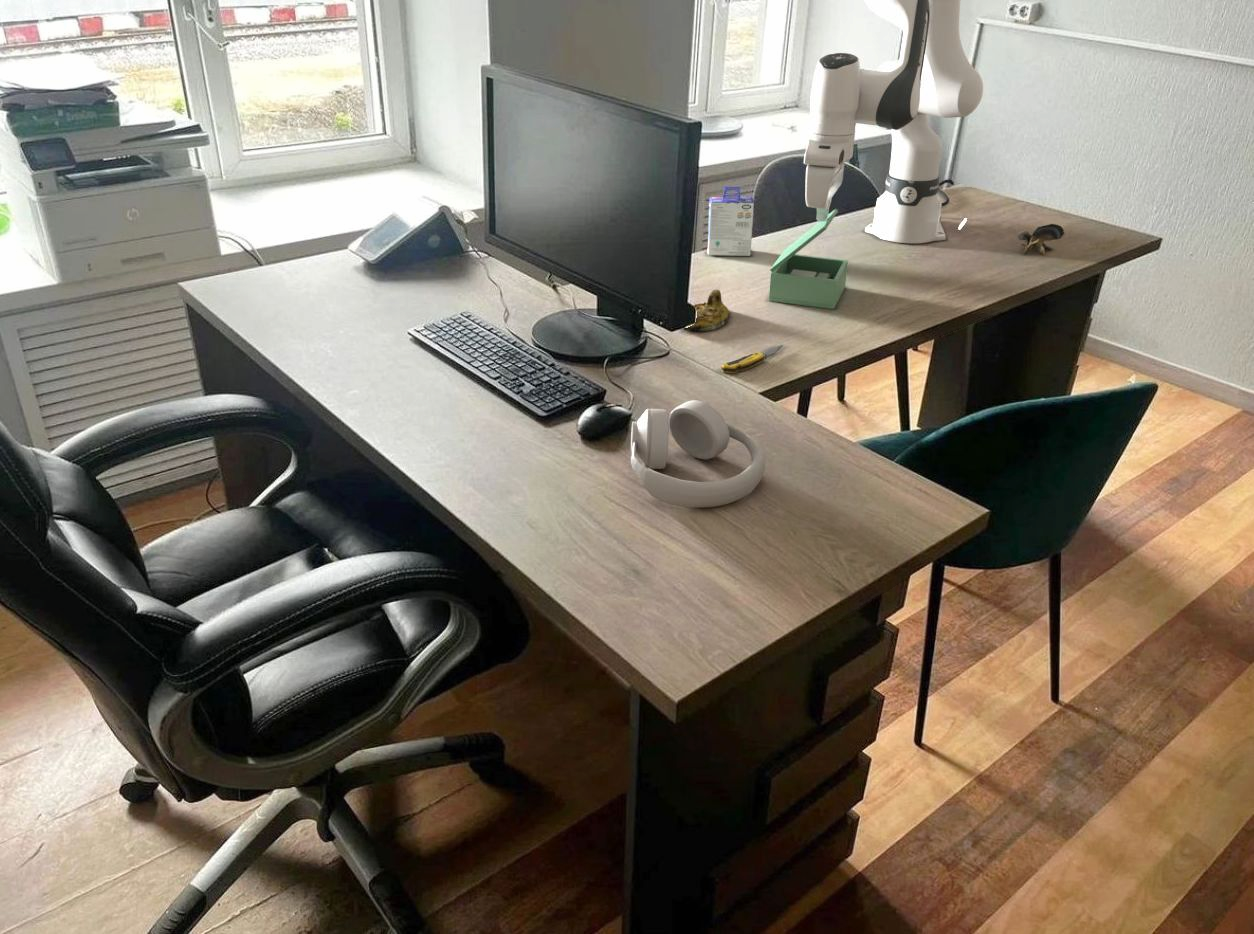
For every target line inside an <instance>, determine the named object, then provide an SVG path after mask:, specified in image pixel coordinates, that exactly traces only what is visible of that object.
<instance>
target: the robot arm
mask: <svg viewBox="0 0 1254 934" xmlns="http://www.w3.org/2000/svg"><path fill="white" fill-rule="evenodd" d="M863 1H864V3H865V5H866V6H867V7H868V8H869V9H870V11H872V13H874V14H875V15H876V16H878V17H879V18H881V19H883V20H885V21H887V22H889V23H891V24H893V25H894V26H896V27H898V28H899V29H901V30H902V33H903V34H902V39H901V46H900V53H899V58H898V59H897V58H896V59H890V60H889V59H888V60H886V61H884V62H883V63H882V64H880V66H879V67H878V68H877V70H870V69H864V68H861V66H860V65H861V64H860V58H859V57H857V55H854V54H852V53H847V52H836V53H830V54H826V55H824V56H822V57H821V58H819V60H818V61H817V62H816V63H817V64H816V67H815V70H814V74H813V79H812V85H811V91H810V98H809V100H810V101H809V110H810V120H809V124H808V126H807V132H806V143H805V152H804V156H803V164H804V165H806V169H805V205H806V207H807V208H812V209H813V208H814V209H816V216H815V217H816V219H815V220H816V221H817V222H820V221H825V220H826V218H827V217H828V214H830V213H829V212H830V206H831V202H832V198H833V197H834V195H835V194H836V192H837V191H838V190H839V188H840V187H841V186H842V183H843V180H844V171H845V170H844V169H845V166H846V161H848V160H851V159H852V158H853V154H854V145H855V136H856V125H855V124H862V125H870V126H878V127H880V128H883V129H884V128H885V129H888V130H890V133H891V154H890V164H889V172H888V173H887V175H886V179H885V187H884V189H885V190H884V192H883V194H881V195H880V196H879V197H877V199H876V204H875V207H874V211H873V213H874V215H873V216H874V217H873V221H872V222H871V223H869V224H868V225H866V226H865V228H864V232H865V233H868V234H870V235H873V236H875V237H877V238H879V239H881V240H884V241H888V242H891V243H892V242H893V243H899V244H926V243H930V242H935V241H937V242H938V241H945V240H946V237H947V236H946V233H945V231H944V228H943V226H942V224H941V221H942V217H941V211H942V207H945V206H946V205H948V204H949V203H950V197H949V196H948V195H947V194H946V192H945V191H943V190H942V189H940V187H941V186H943V185H945V184H947V183H948V184H950V185H951V186H955V182H954V181H953V180H952V179H944V180H942V181H940V177H939V173H940V166H941V159H942V153H943V142H942V140H941V139H942V138H941V137H940V136H939V135H938V134H937V133H936V132H935V131H934V130H933V129H932V128H931V126H930V124H929V122H928V117H927V116H933V117H938V118H943V119H944V118H945V119H948V118H951V119H952V118H953V119H954V118H964V117H968V116H970V115H971V114H972V113H973V112H974V111H975V110H976V109H977V108H978V107H979V105H980V103H981V101H982V98H983V94H984V83H983V79H982V76H981V75H980V73H979V72H978V71H977V70H976V69H975V68H974V67H973V65H972V64H971V63H970V61H969V60H968V57H967V56H966V54H965V51H964V48H963V44H962V41H961V37H960V13H961V12H960V11H961V0H863ZM938 193H939V194H940V195H941V196H942V198H944V202H941V201H940V200H939V198H938V197H937V194H938ZM967 219H968V218H966V217H965V218H964V219H963V221H962V222H961V223H959V226H958V230H961V229H962V228H963V226H964V225H965V224H966V222H967Z"/></svg>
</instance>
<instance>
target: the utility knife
mask: <svg viewBox="0 0 1254 934" xmlns="http://www.w3.org/2000/svg"><path fill="white" fill-rule="evenodd" d="M782 347H784V344H778V345H773V346H770V347H767V348H766V349H763V350H760V351H755V352H752V353H750V354H749V355H745V356H742V357H740V358H738V359H735V360H732V361H728V362H726V363H723V364H722V365H721V372H722V373H725V374H736V373H737V372H742V371H746V370H749V369H752V368H753V367H754V366H757V365H760V364H761V363H763V362H764V361H765V360H767V359H768V358H769V357H771V356H774V355H775V354H777V352H778V351H779V350H780V349H781V348H782Z"/></svg>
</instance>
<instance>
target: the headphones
mask: <svg viewBox="0 0 1254 934" xmlns="http://www.w3.org/2000/svg"><path fill="white" fill-rule="evenodd" d="M669 432H670V433H669ZM669 434H671V436H672V438H673V440H674V442H675V443H676V444H677V446H679V448H681V449H682V451H684V452H686V453H687V454H688V455H690V456H692V457H694V458H696V459H701V460H710V459H714V458H715V457H717V456H718V455H720V454H722V453H723V452H724V451H725V450H726V449H727V448H728V445H729V443H730V438H731V439H733V440H735V441H738V442H739V443H741V444H742V445H744V447H746V448H745V449H747V451H748V452H749V454H750V457H751V462H750V464H749V466H748V467H747V468H746V469H744V470H743V471H742V472H741V473H738V474H736V475H733V476H732V477H729V478H726V479H722V480H717V481H716V480H715V481H696V480H695V481H693V480H685V479H679V478H677V477H673V476H670V475H667V474H663V473H661V472H658V471H655V470H654V469H656V470H663V469H665V468H666V466H667V464H668V463H667V462H668V453H669V438H670V437H669ZM630 453H631V457H630V465H631V468H632V470H633V472H634V473H635V475H636V477H638V478H639V481H640V482H641V483H642V484H643V488H644V490H646V491H647V493H648V494H649V495H650V496H651V497H653V498H654V499H656V500H657V501H659V502H662V503H665V504H667V505H672V506H678V507H682V508H686V509H695V508H697V509H698V508H714V507H720V506H724V505H728V504H732V503H734V502H737V501H739V500H740V499H742V498H744V497H746V496H748V495H750V494H751V493H752V492H753V490H755V488H756V487H757V486H758V485H759V484H760V482H761V480H762V478H763V475H764V473H765V470H766V455H765V452H764V451H763V449H762V447H761V445H760V444H758V443H757V442H756V441H755V439H754V438H753V437H752V436H751V435H750V434H749V433H746V432H745V431H744V430H741V429H739V428H738V427H735V426H733V425H731V424H729V423H727V422H726V420H725V418H724V416H723V415H722V414H721V412H719V410H717V409H715V408H714V407H713V406H711V405H710V404H709V403H707V402H704V401H702V400H698V399H697V400H695V399H691V400H688V401H685V402H683V403H682V404H680V405H678V406H676V407H675V408H674V409H673V410H672V411H671V412H670V413H668V410H667V409H666V408H665V409H663V408H646V409H645V411H644V412H643V413H642V414H641V416H640V417H639V418H638V420H637V421H634V420H633V421H632V422H631V434H630Z"/></svg>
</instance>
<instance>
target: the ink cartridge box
mask: <svg viewBox="0 0 1254 934" xmlns="http://www.w3.org/2000/svg"><path fill="white" fill-rule="evenodd" d="M729 191H735V192H736V193H727V192H729ZM754 211H755V201H754V197H753V196H741V187H740V186H723V196H710V197H709V204H708V225H707V226H708V229H707V249H706V250H707V256H730V257H731V256H733V257H734V256H735V257H737V256H738V257H739V256H740V257H751V253H752V241H753V240H752V239H753V228H754V227H753V224H754V213H755V212H754Z"/></svg>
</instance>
